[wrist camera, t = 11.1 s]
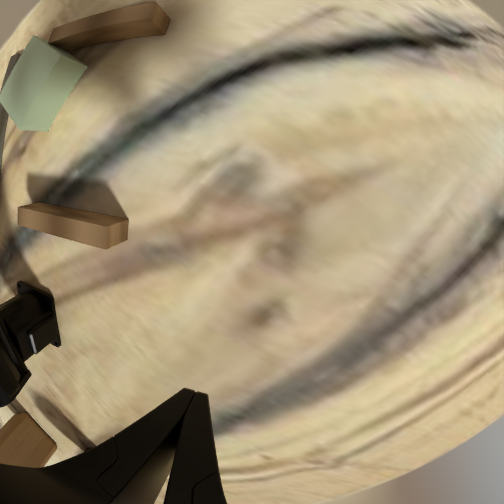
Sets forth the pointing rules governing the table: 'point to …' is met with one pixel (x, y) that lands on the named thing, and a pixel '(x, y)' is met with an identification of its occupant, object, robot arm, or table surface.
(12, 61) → the set of wooden bars
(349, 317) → the table surface
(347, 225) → the table surface
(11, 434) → the wooden block
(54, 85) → the sage block
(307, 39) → the table surface
